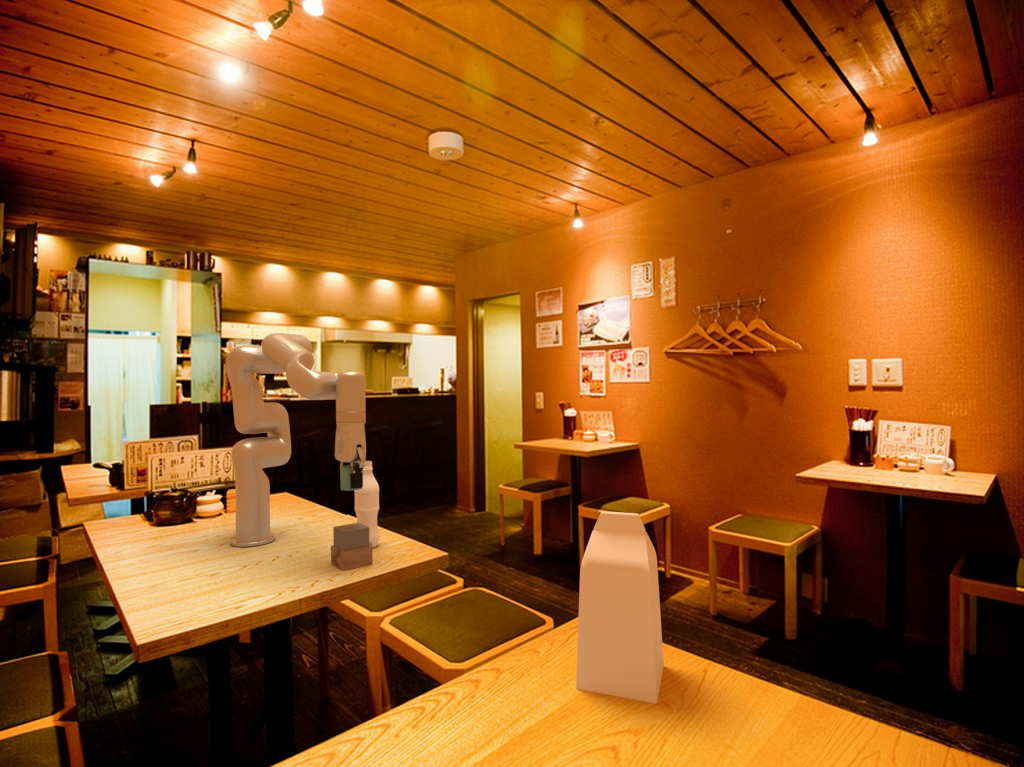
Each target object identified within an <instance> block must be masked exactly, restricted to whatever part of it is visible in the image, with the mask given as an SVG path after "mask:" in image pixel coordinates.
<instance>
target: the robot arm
mask: <svg viewBox="0 0 1024 767" xmlns="http://www.w3.org/2000/svg"><path fill="white" fill-rule="evenodd" d="M314 360H315V359H314V355H313V345H312V342H311V341H310V340H309V339H308V337H307V336H304V335H301V334H292V333H283V332H282V333H281V332H273V333H270V334H267V335H266V336H265V337H264V338H263V339H262V341H261V344H260V345H255V344H253V345H252V344H247V345H243V344H242V345H239V346H235V347H234V348H231V350H230V351H229V353H228V354H227V358H226V360H225V370H226V374H227V378H228V379H227V380H228V381H229V384H230V388H231V394H232V407H233V419H234V420H233V421H234V426H235V429H236V430H237V432H239V433H241V434H244V435H247V434H249V435H251V434H254V435H255V434H263V433H264V434H265V433H267V436H265V437H263V436H261V437H260V436H259V437H249V438H245V439H241V440H239V441H237V442H236V443H235V444H234V445H232V449H231V461H232V465H233V471H234V481H235V484H234V485H235V536H234V537H232V538H231V539H230V540H229V545H230V546H232V547H238V548H242V547H243V548H245V547H247V548H248V547H256V546H257V547H258V546H262V545H267V544H269V543H272V542H274V541H275V540H276V538H277V537H276V534H275V533H272V532H271V498H270V496H271V491H270V490H271V488H270V487H271V486H270V480H269V477H268V476H267V474H266V473H265V471H264V470H263V469H266V468H273V467H278V466H279V467H280V466H283V465H286V463H288V462H289V460H290V458H291V455H292V441H291V430H290V429H291V428H290V419H289V413H288V411H287V409H286V407H285V406H284V405H283V404H280V403H279V402H265V401H264V394H263V387H262V385H261V384H260V382H259V380H258V379H257V378H256V377H255V376H254V375H253V374H274V375H276V374H279V375H280V374H283V373H285V377H286V381H287V385H288V386H289V387H290V389H292V391H294V392H296V394H299V395H300V396H301V397H302V398H305V399H307V400H312V401H315V400H317V401H319V400H322V401H323V400H335V421H336V423H335V424H336V429H335V439H334V440H335V441H334V458H335V460H337V461H339V467H340V466H344V465H351V470H352V473H350V488H351V489H355V488H362V487H363V467H364V464H365V462H366V461H367V460H366V457H367V443H366V442H367V441H366V440H367V439H366V429H365V424H366V422H367V421H366V415H367V414H366V413H367V412H366V377H365V374H364V373H362V372H358V371H341V372H340V371H338V372H337V371H336V372H335V371H312V368H313V366H314V362H315V361H314ZM355 465H356V466H355Z"/></svg>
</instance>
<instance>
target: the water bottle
mask: <svg viewBox="0 0 1024 767" xmlns="http://www.w3.org/2000/svg"><path fill="white" fill-rule="evenodd" d="M373 470H374V468H373V461H371V460H366V462H365V464H364V467H363V488H362V489H359V490H353V492H354V512H355V515H356V523H361V524H363V525H365V526H367V527H369V545H370V546H372V549H373V548H376V547H377V546H378V543H379V541H380V537H381V534H380V531H379V528H378V514H379V510H380V508H381V507H380V486H379V483H378V481H377V479H376V477H375V476H374V473H373Z"/></svg>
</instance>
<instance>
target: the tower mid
mask: <svg viewBox="0 0 1024 767" xmlns="http://www.w3.org/2000/svg"><path fill="white" fill-rule="evenodd" d="M332 529H333V533H332V534H333V535H332V536H333V545H334V546H335V547H337V548H338V549H340V550H342V551H343V552H344V551H349V550H354V549H359V548H364V547H369V527H367V526H365V525H363V524H361V523H357V522H353V523H348V524H343V525H341V524H340V525H336V526H333V528H332Z"/></svg>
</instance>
